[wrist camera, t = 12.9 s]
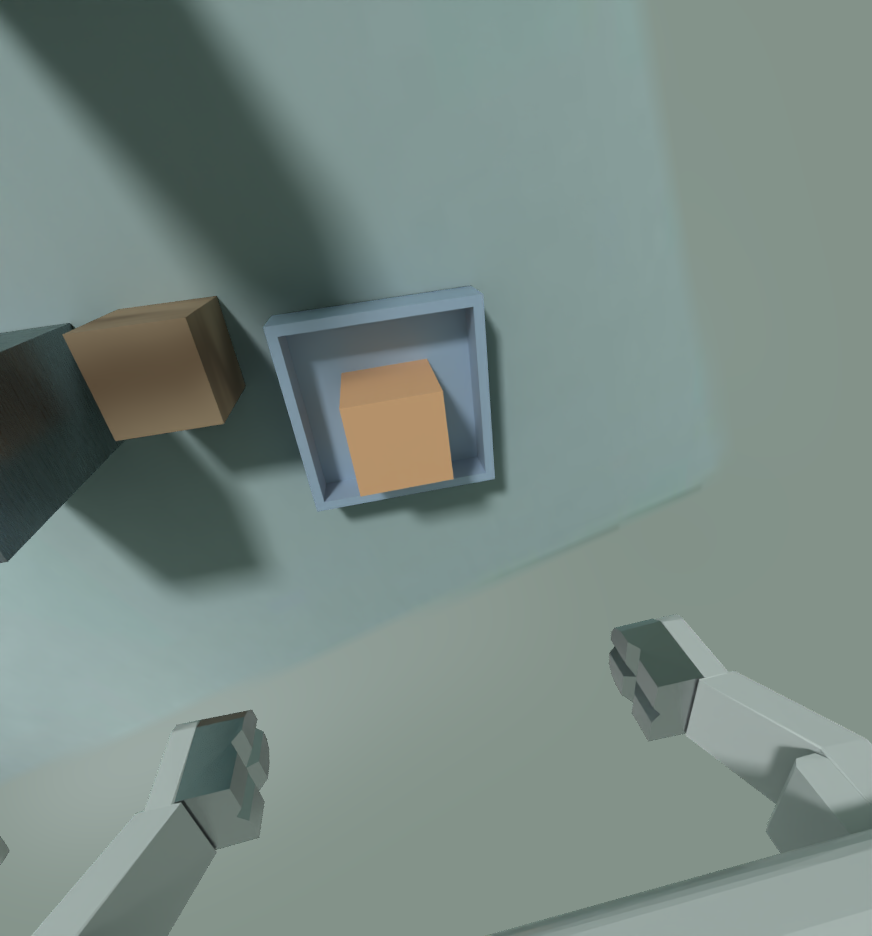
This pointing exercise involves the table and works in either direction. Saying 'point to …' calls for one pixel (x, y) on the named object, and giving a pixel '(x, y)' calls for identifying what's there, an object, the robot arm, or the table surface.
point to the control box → (43, 431)
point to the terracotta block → (395, 426)
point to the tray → (373, 345)
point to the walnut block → (159, 367)
